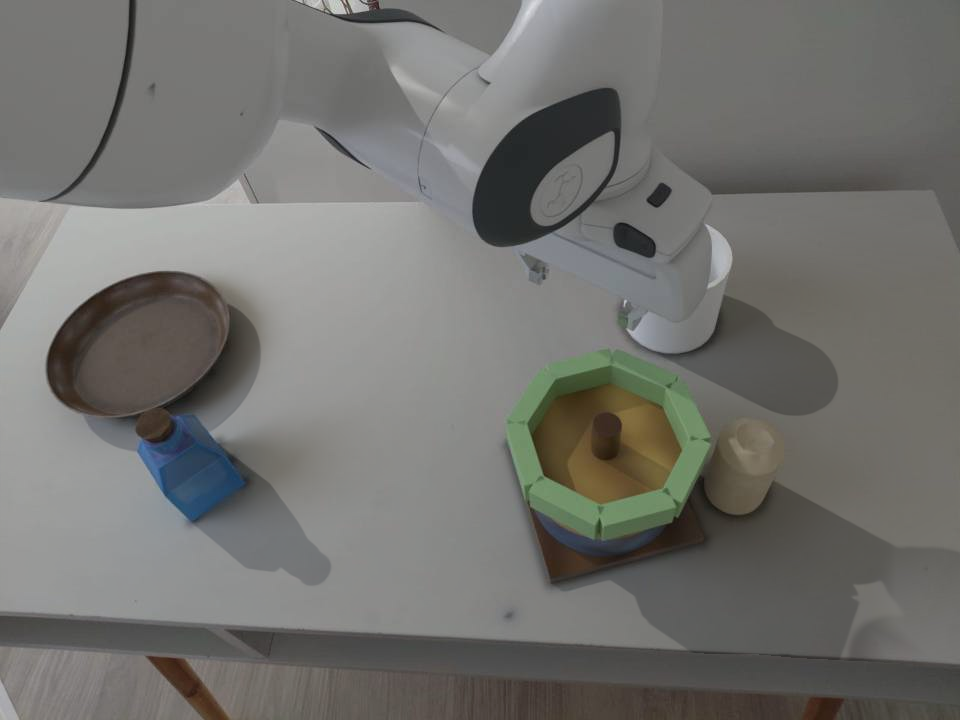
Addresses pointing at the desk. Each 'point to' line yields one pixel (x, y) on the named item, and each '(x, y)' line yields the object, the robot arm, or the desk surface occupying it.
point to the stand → (606, 476)
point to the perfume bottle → (185, 461)
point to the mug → (702, 321)
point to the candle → (743, 465)
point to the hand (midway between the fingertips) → (582, 299)
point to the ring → (638, 381)
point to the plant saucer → (137, 344)
